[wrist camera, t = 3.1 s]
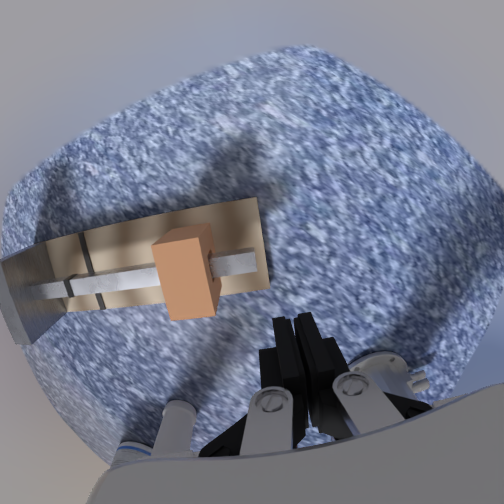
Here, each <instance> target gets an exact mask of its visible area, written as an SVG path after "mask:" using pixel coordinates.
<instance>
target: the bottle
mask: <svg viewBox="0 0 504 504" xmlns="http://www.w3.org/2000/svg"><path fill="white" fill-rule="evenodd" d="M162 414H163V419H162V422H161V425H160V428H159V432H158V435H157V438H156V441H155V444H154V447H153V450H152V453H151V456H155V455H163V454H170V453H177V452H183V451H189V450H190V444H191V437H192V431H193V425H194V424H195V422H196V410H195V408H194V407H193V406H192V405H191V404H189V403H188V402H185V401H182V400H172V401H170V402H168V403H167V404H166V406H165V408H164V411H163V413H162Z"/></svg>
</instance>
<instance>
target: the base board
mask: <svg viewBox="0 0 504 504" xmlns="http://www.w3.org/2000/svg"><path fill="white" fill-rule="evenodd" d="M204 223H210V227H211V232H212V237H213V243H214V248H215V253H216V252H222V251H229V250H235V249H242V248H248V247H254V251H255V257H256V264H257V272H250V273H243V274H237V275H230V276H223V277H220V278H221V283H222V288H221V293H220V296H221V295H229V294H236V293H243V292H250V291H256V290H263V289H270V283H269V276H268V269H267V263H266V256H265V249H264V242H263V236H262V229H261V222H260V216H259V209H258V203H257V197H252V198H246V199H240V200H233V201H227V202H221V203H216V204H210V205H204V206H199V207H193V208H188V209H183V210H177V211H172V212H167V213H162V214H157V215H152V216H147V217H143V218H138V219H133V220H129V221H124V222H120V223H115V224H111V225H107V226H102V227H98V228H94V229H90V230H86V231H82V232H78V233H74V234H70V235H66V236H62V237H58V238H54V239H51V240H47V241H43V242H46V246H47V250H48V254H49V257H50V261H51V264H52V268H53V271H54V274H55V278H59V277H65V276H70V275H72V274H84V273H90V272H96V271H102V270H108V269H115V268H121V267H127V266H133V265H140V264H146V263H152V262H155V261H154V257H153V253H152V249H151V245H152V244H153V243H155V242H156V241H157V240H159V239H160V238H161V237H162V236H164V235H165V234H166V233H168V232H169V231H170V230H171V229H175V228H181V227H187V226H192V225H198V224H204ZM40 243H42V242H40ZM36 244H38V243H36ZM33 245H35V244H33ZM62 299H63V301H64V304H65V307H66V309H67V312H73V311H86V310H98V309H100V310H105V309H109V308H119V307H129V306H139V305H148V304H157V303H166V302H165V299H164V295H163V292H162V288H161V285H158V286H151V287H143V288H136V289H128V290H120V291H112V292H104V293H95V294H87V295H78V296H75V297H71V298H69V297H62Z"/></svg>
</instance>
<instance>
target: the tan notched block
mask: <svg viewBox="0 0 504 504" xmlns="http://www.w3.org/2000/svg"><path fill="white" fill-rule="evenodd" d="M151 249H152V253H153V257H154V261H155V265H156V269H157V273H158V277H159V281H160V284H161V288H162V292H163V295H164V299H165V302H166V306H167V309H168V312H169V316H170V319H171V321H174V320H184V319H193V318H202V317H210V316H216V311H217V306H218V302H219V297H220V293H221V288H222V283H221V278H220V277H216V278H212V276H211V272H210V267H209V262H208V257H207V255H208V254H209V253H215V248H214V243H213V237H212V232H211V227H210V223H204V224H198V225H192V226H187V227H181V228H175V229H171V230H170V231H169V232H168V233H166V234H165V235H164V236H162V237H161V238H160V239H159V240H157V241H156V242H155V243H153V244H152V245H151Z"/></svg>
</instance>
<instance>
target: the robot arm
mask: <svg viewBox="0 0 504 504" xmlns="http://www.w3.org/2000/svg"><path fill="white" fill-rule="evenodd" d="M272 321H273V328H274V335H275V342H276V347H274V348H267V349H260V350H259V362H260V376H261V390H259V391H257V392H256V393H255V394H254V395H253V396H252V398H251V400H250V405H249V410H248V414H246V415H245V416H244V417H243V418H241V419H240V420H239V421H238V422H236V423H235V424H234V425H232V426H231V427H230V428H229V429H227V430H226V431H225V432H223V433H222V434H221V435H219V436H218V437H217V438H215V439H214V440H212V441H211V442H210V443H208V444H207V445H206V446H205V447H203V448H202V449H201V451H199V452H193V450H189V451H183V452H177V453H170V454H163V455H155V456H146V457H141V458H138V459H137V460H135V461H132V462H127V463H123V464H120V465H117V466H114V467H112V468H110V469H108V470H107V471H105V472H104V473H103V474H102V475H101V477H100V478H99V479H98V480H97V482H96V484H95V485H94V487H93V489H92V492H91V493H90V495H89V497H88V500H87V502H86V504H504V383H499V384H493V385H490V386H486V387H483V388H480V389H478V390H475V391H473V392H470V393H468V394H464V395H461V396H456V397H452V398H448V399H444V400H439V401H434V402H433V404H432V405H429V404H427V403H424V402H421V401H419V400H418V399H417V397H416V396H415V394H414V393H417V392H421V391H424V390H426V389H428V388H429V381H428V379H427V378H425V376H426V374H425V371H424V370H422V371H419V372H416V373H414V374H410V373H408V366H407V364H406V362H405V361H404V359H403V358H402V357H401V356H400V355H398V354H397V353H394V352H388V351H382V352H375V353H371V354H368V355H366V356H364V357H361V358H360V359H358V360H356V361H354V362H353V363H351V364H350V365H349V366H348V365H347V363H346V361H345V359H344V357H343V355H342V353H341V351H340V349H339V347H338V345H337V343H336V341H335V339H334V337H330V338H325V339H322V337H321V335H320V333H319V330H318V328H317V326H316V323H315V321H314V319H313V316H312V314H311V312H307V313H301V314H298V317H297V318H294V328H295V335H294V331H293V328H292V324H291V321H290V319H285V316H283V317H277V318H272ZM418 380H419V381H418ZM414 381H416V382H415V383H413V382H414ZM308 410H309V415H310V419H311V423H312V427H316V426H318V430H319V433H325V434H327V435H330V436H331V441H332V442H328V443H324V444H319V445H314V446H309V447H303V448H298V446H297V444H298V443H299V442H300V441H301V440H302V439H303V438H304V437H305V436H306V434H305V429H306V428H309V424H308Z"/></svg>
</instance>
